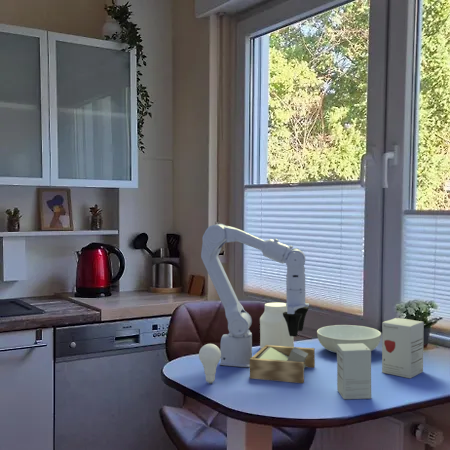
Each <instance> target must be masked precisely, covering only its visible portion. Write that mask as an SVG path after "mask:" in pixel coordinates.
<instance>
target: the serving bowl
mask: <svg viewBox="0 0 450 450" xmlns="http://www.w3.org/2000/svg"><path fill="white" fill-rule="evenodd" d="M316 334H317V340H318V341H319V343H320V344H321V346H322V347H323V348H324V349H325V350H327V351H330V352H331V353H336V354H337V344H356V343H363V344H365V345H366V346H367V347H368V348H369V349H370V350H371V352H373V351H374V350H375V349H376V348H377V347H378V346H379V344H380V342H381V339H382V331H379V330H378V329H376V328H373V327H369V326H364V325H354V324H353V325H351V324H335V325H327V326H322V327H320V328H318V329H317V330H316Z"/></svg>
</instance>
